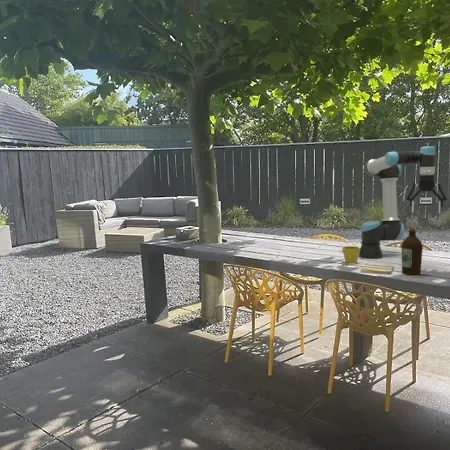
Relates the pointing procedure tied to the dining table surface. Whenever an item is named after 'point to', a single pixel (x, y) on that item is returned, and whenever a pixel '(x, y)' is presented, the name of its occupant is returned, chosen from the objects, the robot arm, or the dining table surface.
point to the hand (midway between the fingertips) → (425, 212)
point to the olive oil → (411, 254)
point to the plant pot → (351, 253)
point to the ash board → (377, 269)
